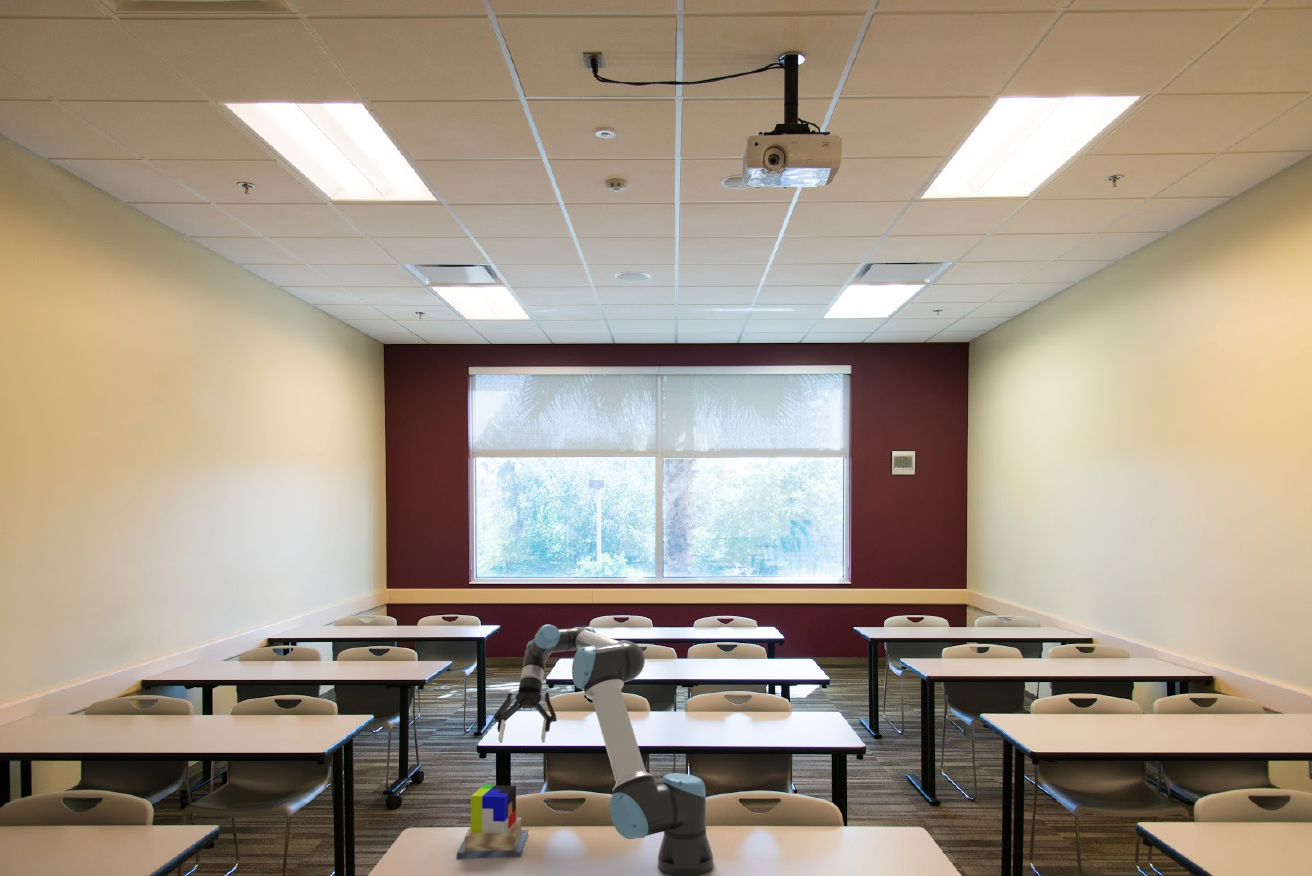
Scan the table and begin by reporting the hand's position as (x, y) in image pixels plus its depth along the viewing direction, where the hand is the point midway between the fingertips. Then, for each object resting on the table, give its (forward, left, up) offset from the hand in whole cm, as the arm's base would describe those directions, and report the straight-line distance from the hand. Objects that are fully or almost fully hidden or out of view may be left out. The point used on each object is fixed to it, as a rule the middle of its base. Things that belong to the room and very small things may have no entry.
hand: (521, 740), depth 252 cm
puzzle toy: (+6, +16, -20) cm, 27 cm away
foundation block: (+6, +16, -25) cm, 31 cm away
